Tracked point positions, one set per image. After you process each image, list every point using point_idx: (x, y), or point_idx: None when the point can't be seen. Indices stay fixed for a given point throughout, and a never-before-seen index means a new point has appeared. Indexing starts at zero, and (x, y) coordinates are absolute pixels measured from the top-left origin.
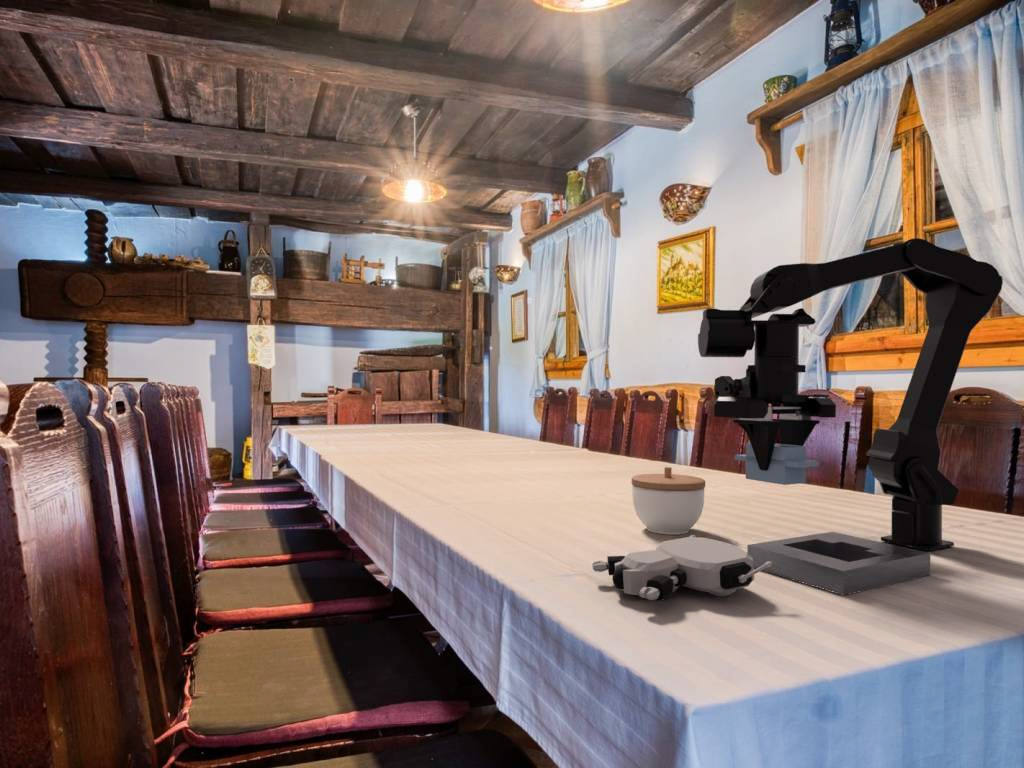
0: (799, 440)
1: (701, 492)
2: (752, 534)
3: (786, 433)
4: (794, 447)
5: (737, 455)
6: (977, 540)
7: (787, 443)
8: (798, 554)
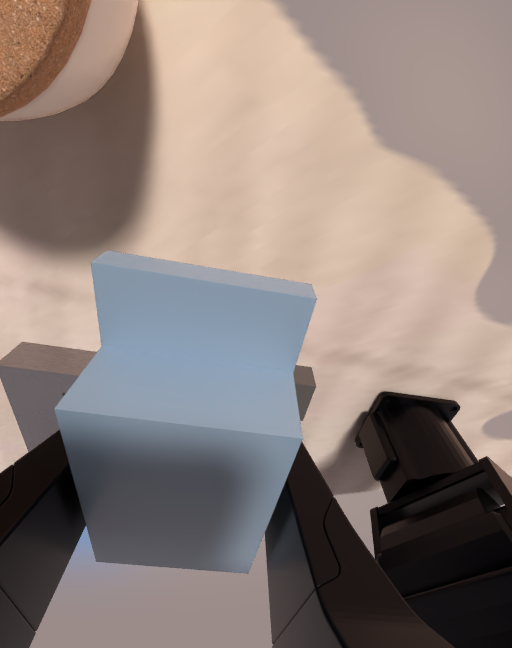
0: (269, 589)
1: (8, 115)
2: (246, 212)
3: (299, 604)
4: (166, 564)
5: (95, 285)
6: (497, 453)
7: (281, 530)
8: (40, 426)
